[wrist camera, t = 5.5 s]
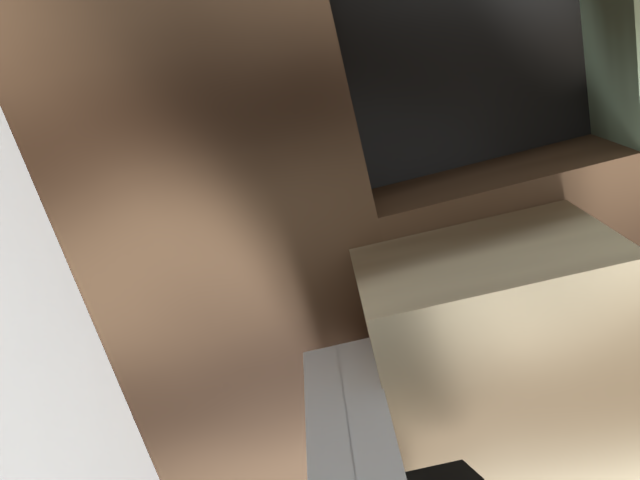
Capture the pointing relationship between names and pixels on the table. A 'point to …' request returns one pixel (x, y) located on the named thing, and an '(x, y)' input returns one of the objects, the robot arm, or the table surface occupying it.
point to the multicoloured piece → (293, 175)
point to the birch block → (510, 344)
